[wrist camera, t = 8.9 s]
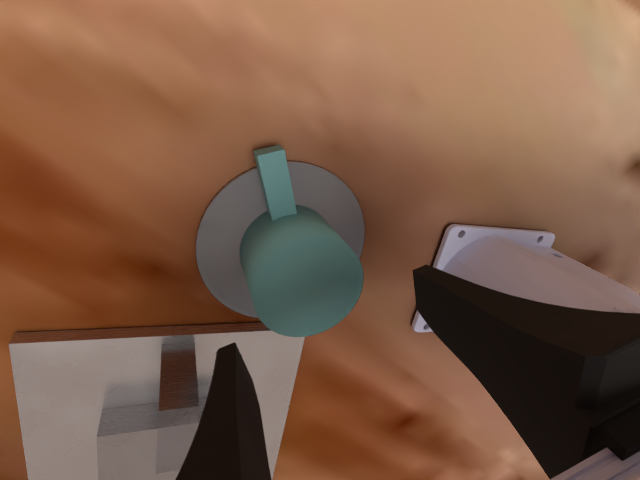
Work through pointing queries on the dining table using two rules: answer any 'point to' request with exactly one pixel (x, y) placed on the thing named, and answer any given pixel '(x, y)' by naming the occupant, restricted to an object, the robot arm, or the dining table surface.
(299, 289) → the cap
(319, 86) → the dining table surface
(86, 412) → the post base
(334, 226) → the coaster
